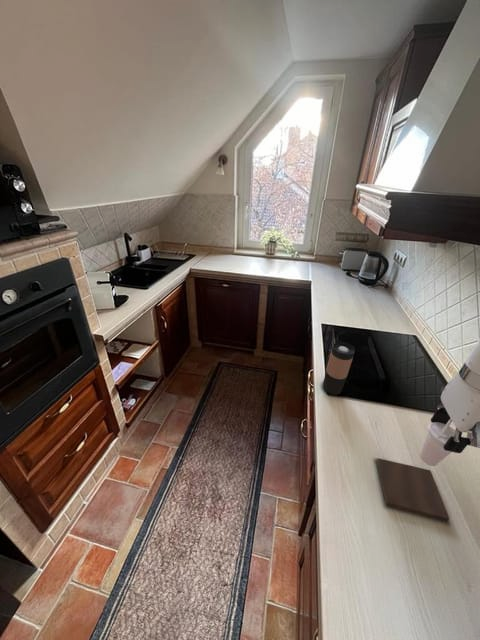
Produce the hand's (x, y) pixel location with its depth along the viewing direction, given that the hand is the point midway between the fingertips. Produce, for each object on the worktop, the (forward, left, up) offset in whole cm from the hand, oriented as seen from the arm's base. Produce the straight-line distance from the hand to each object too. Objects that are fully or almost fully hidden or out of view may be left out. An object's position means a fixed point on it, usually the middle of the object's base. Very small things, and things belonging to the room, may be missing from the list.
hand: (444, 435), depth 58 cm
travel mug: (+18, -33, -23) cm, 44 cm away
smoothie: (0, 0, -9) cm, 9 cm away
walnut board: (0, 0, -23) cm, 23 cm away
